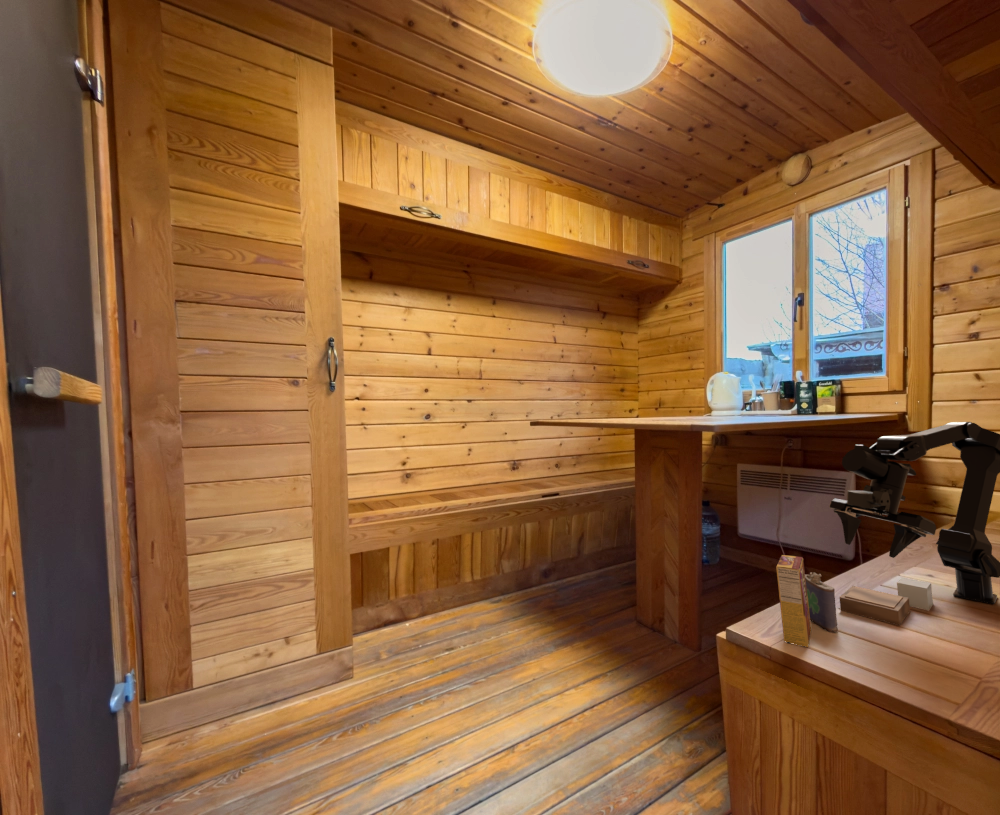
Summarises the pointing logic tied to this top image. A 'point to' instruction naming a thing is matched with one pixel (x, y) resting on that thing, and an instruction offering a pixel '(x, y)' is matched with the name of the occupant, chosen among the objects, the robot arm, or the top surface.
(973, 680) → the top surface
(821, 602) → the flask
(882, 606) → the walnut plinth
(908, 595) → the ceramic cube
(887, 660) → the top surface
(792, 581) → the candy box
